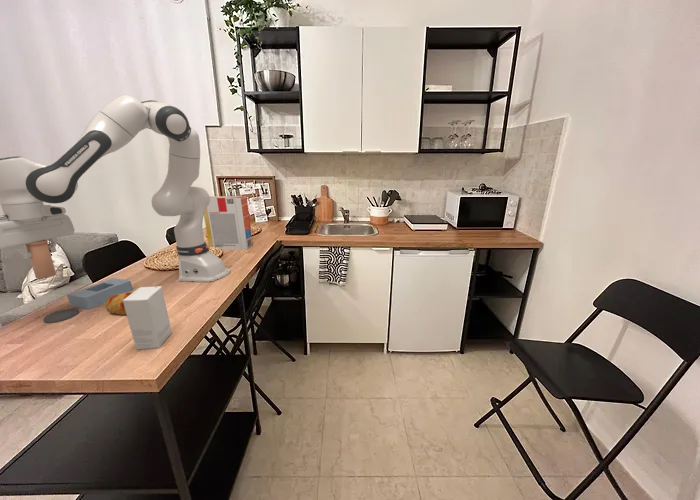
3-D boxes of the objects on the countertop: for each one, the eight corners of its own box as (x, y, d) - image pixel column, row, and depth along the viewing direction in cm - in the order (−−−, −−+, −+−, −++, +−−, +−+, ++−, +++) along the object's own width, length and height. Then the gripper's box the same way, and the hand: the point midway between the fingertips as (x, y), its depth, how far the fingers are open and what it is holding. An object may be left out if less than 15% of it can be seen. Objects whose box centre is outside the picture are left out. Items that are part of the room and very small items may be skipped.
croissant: (104, 316, 107) (86, 303, 102) (126, 294, 114) (110, 281, 109) (143, 325, 100) (126, 312, 94) (164, 301, 106) (150, 287, 101)
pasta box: (252, 245, 179) (246, 195, 170) (247, 249, 171) (240, 197, 162) (216, 245, 181) (208, 196, 172) (209, 249, 173) (200, 198, 164)
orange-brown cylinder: (60, 274, 98) (51, 239, 95) (41, 279, 94) (30, 244, 90) (50, 271, 100) (40, 237, 96) (31, 277, 95) (19, 241, 91)
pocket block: (133, 290, 120) (130, 280, 118) (89, 309, 105) (85, 297, 104) (115, 287, 123) (112, 277, 121) (70, 305, 108) (66, 294, 107)
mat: (85, 311, 104) (85, 309, 104) (54, 324, 96) (54, 323, 95) (68, 308, 107) (68, 306, 106) (37, 320, 98) (36, 319, 98)
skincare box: (151, 333, 90) (139, 286, 85) (174, 332, 90) (163, 285, 85) (134, 350, 82) (120, 299, 77) (159, 349, 82) (147, 298, 77)
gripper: (-17, 219, 80) (2, 267, 84) (70, 207, 99) (82, 247, 103) (-31, 218, 82) (-11, 265, 86) (58, 206, 100) (70, 245, 105)
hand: (40, 255), depth 94 cm, fingers closed on orange-brown cylinder, 5 cm apart
